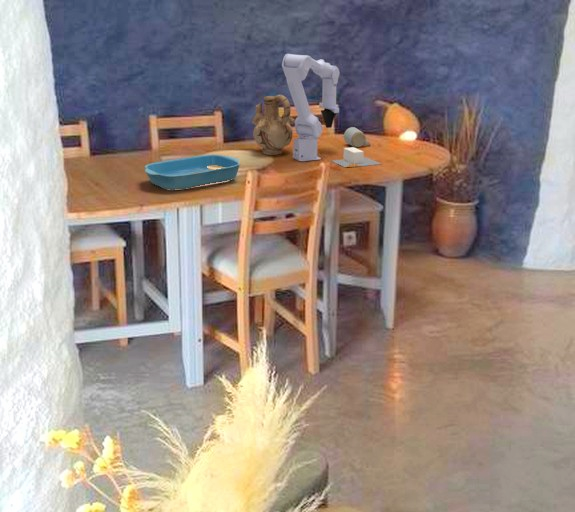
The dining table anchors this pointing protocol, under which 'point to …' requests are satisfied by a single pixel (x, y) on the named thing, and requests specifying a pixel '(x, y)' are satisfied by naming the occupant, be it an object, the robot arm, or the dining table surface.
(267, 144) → the ceramic vessel
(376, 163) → the slate mat
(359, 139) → the ceramic mug
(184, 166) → the casserole dish
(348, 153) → the off-white block
